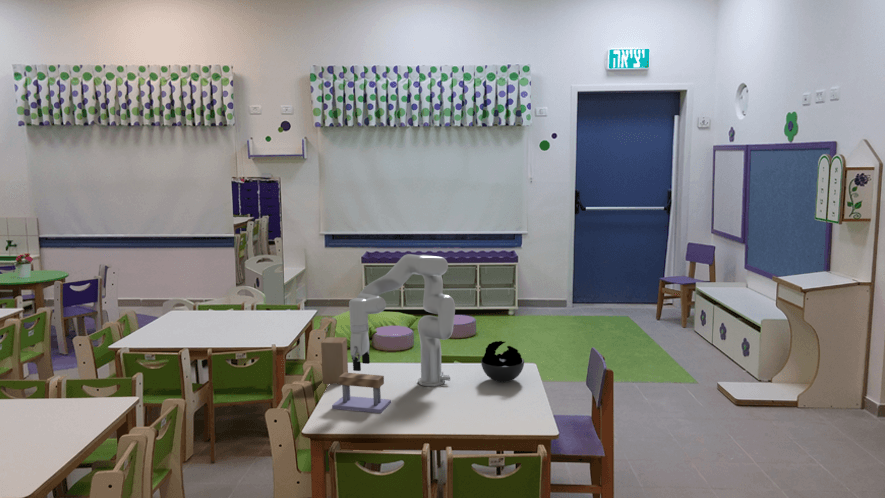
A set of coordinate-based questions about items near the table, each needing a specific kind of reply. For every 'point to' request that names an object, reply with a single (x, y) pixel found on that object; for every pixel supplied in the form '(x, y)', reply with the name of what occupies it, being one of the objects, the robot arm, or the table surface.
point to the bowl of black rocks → (502, 363)
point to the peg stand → (361, 402)
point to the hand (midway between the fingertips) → (361, 366)
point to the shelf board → (361, 380)
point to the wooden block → (334, 359)
